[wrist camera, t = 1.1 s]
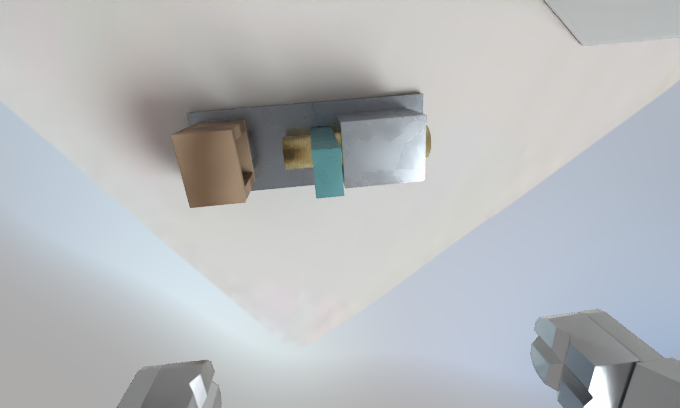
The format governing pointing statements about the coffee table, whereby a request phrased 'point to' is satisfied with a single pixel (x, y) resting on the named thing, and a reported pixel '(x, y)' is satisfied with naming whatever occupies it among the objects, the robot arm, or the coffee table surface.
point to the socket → (215, 163)
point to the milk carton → (619, 20)
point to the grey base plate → (356, 138)
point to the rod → (322, 158)
